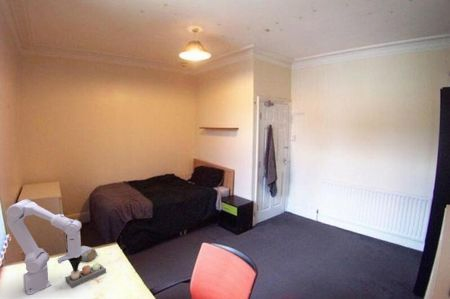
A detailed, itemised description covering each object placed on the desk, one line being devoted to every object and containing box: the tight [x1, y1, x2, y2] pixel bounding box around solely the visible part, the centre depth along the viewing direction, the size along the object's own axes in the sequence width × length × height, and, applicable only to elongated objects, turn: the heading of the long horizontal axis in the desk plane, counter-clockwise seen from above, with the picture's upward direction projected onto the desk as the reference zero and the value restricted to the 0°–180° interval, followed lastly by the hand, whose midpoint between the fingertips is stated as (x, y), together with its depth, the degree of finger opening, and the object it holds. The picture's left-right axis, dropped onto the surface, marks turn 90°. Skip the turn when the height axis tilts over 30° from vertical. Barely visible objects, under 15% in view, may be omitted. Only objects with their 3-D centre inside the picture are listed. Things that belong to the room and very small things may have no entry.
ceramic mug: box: [81, 245, 98, 262], centre depth 149 cm, size 11×8×8 cm
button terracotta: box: [81, 264, 91, 276], centre depth 130 cm, size 4×4×4 cm
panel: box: [65, 264, 107, 289], centre depth 130 cm, size 17×8×2 cm, turn 142°
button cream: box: [70, 269, 80, 281], centre depth 126 cm, size 4×4×4 cm
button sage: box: [92, 263, 101, 272], centre depth 134 cm, size 4×4×4 cm
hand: (75, 270), depth 125 cm, fingers closed
